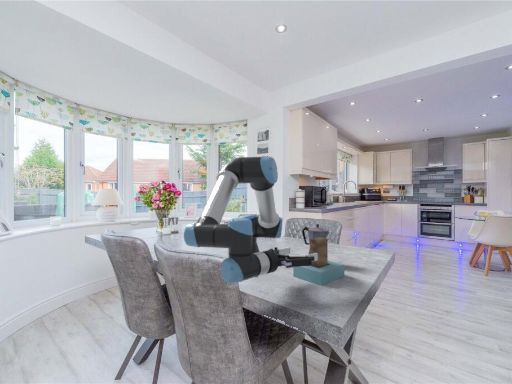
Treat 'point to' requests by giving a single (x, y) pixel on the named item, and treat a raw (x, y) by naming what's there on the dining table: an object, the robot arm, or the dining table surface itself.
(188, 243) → the robot arm
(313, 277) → the slotted base
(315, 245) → the walnut board
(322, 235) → the moka pot
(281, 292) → the dining table surface
